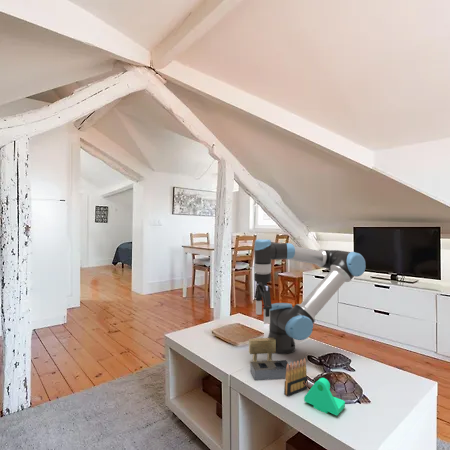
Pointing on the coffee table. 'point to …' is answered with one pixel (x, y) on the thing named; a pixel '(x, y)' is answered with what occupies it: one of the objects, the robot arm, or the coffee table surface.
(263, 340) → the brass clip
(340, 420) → the coffee table surface
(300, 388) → the ammunition clip
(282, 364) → the grey block with holes
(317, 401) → the camera mount
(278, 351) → the robot arm
